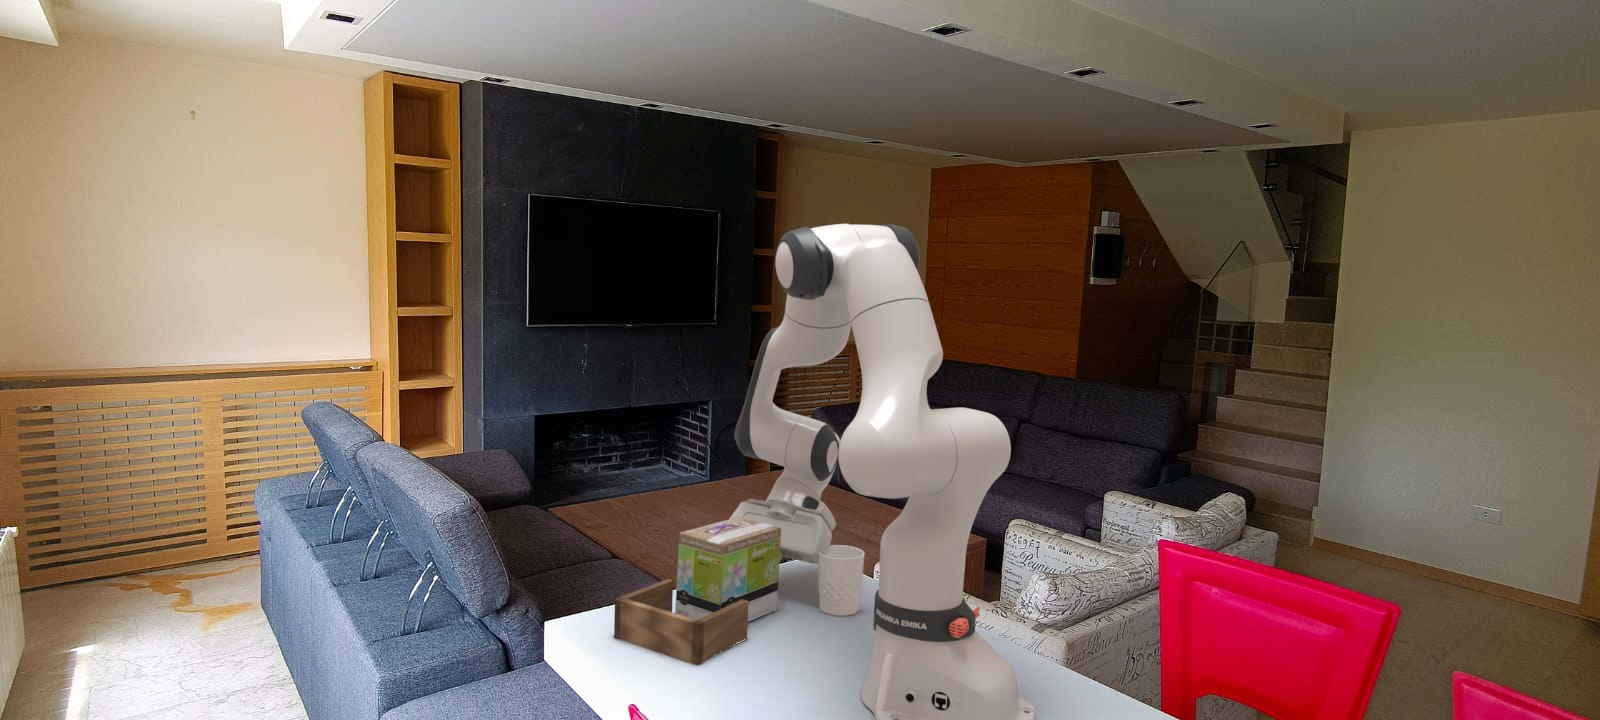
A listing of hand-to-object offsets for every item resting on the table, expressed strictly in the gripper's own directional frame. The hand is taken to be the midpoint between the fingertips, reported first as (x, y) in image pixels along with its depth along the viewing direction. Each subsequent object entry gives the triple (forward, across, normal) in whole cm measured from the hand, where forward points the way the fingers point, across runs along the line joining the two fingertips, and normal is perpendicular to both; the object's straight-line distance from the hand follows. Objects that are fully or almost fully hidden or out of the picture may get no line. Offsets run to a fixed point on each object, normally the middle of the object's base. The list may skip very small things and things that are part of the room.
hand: (757, 572), depth 150 cm
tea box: (+10, 0, -2) cm, 10 cm away
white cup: (0, +13, +8) cm, 15 cm away
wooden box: (+18, 0, -10) cm, 20 cm away
